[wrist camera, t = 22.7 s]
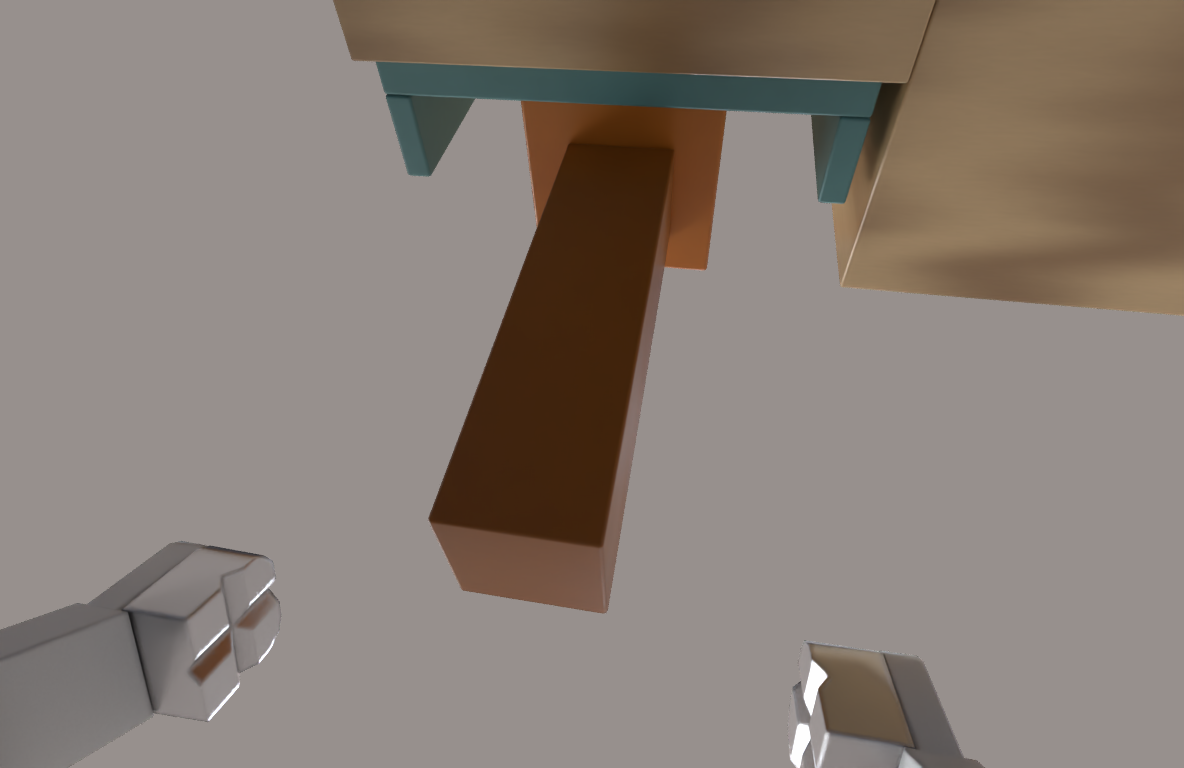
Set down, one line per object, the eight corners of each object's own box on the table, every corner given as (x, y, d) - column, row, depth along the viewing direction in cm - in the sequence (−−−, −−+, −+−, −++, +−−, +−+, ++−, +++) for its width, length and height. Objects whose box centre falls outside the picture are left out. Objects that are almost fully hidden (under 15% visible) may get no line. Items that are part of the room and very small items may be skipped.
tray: (525, -123, 22) (534, -31, 24) (373, 57, 14) (407, 176, 16) (837, -124, 21) (817, -25, 23) (884, 78, 12) (845, 205, 14)
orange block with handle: (746, -81, 21) (729, 60, 24) (607, -82, 21) (609, 55, 25) (692, 521, 7) (670, 647, 11) (325, 469, 8) (414, 604, 11)
